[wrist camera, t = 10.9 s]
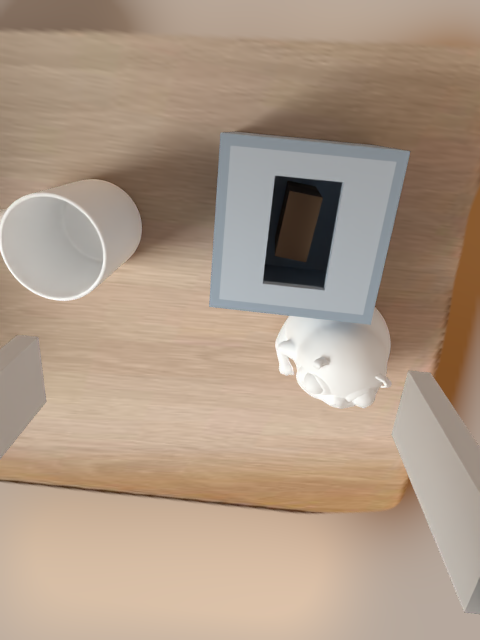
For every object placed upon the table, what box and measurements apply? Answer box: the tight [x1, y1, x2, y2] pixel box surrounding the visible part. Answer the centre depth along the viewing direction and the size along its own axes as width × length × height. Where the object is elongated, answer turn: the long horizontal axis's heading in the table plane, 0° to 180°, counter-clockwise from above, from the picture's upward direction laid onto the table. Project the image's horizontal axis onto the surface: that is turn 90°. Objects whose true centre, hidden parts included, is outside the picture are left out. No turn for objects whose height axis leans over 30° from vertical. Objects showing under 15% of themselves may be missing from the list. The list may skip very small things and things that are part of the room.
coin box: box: [209, 132, 410, 325], centre depth 35 cm, size 12×12×11 cm
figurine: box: [275, 307, 392, 409], centre depth 39 cm, size 10×10×12 cm
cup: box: [0, 179, 142, 301], centre depth 38 cm, size 8×12×10 cm
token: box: [275, 181, 323, 262], centre depth 36 cm, size 2×5×7 cm, turn 169°
